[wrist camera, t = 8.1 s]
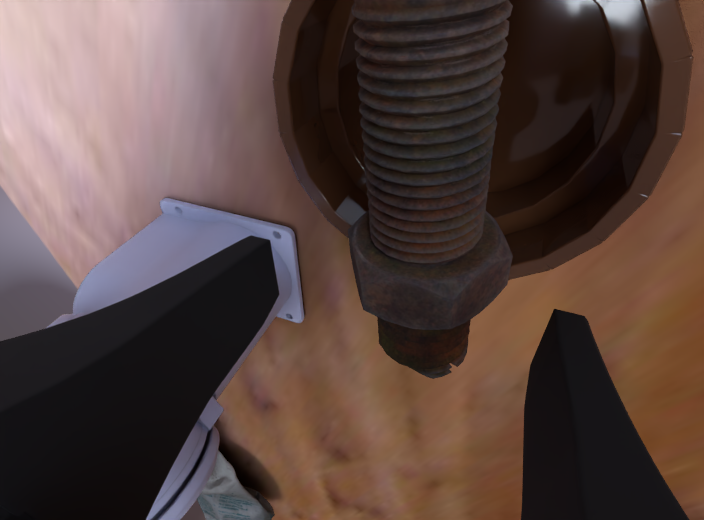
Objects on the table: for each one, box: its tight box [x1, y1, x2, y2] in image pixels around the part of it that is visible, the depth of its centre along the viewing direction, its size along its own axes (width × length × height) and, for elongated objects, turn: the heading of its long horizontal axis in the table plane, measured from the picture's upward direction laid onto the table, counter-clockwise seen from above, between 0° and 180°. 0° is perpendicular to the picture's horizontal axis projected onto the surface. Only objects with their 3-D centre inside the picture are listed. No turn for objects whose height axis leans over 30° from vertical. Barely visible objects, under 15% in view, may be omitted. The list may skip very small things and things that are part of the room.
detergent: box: [197, 450, 275, 520], centre depth 51 cm, size 13×7×25 cm
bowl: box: [273, 0, 693, 280], centre depth 14 cm, size 12×12×5 cm
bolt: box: [348, 0, 513, 379], centre depth 11 cm, size 6×5×15 cm
